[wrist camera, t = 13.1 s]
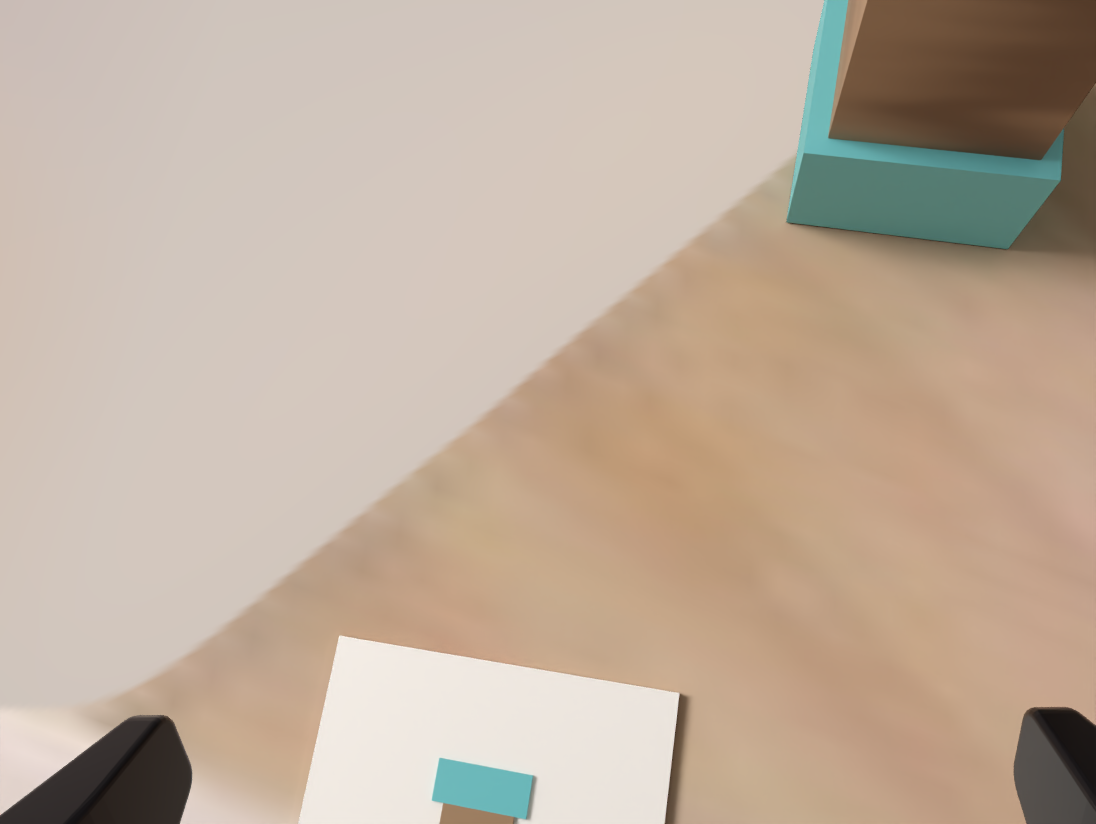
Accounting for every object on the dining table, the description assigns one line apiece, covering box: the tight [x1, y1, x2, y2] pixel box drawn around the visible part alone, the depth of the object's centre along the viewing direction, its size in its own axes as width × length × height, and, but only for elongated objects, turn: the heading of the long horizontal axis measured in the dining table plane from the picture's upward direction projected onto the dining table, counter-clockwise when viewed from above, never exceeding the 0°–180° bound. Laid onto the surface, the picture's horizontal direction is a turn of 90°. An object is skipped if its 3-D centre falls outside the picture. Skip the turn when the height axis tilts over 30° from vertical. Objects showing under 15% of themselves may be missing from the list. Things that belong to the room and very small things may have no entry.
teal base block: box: [786, 0, 1064, 249], centre depth 24 cm, size 6×6×4 cm
